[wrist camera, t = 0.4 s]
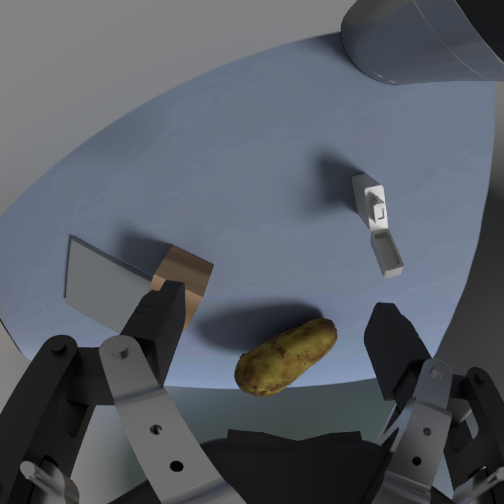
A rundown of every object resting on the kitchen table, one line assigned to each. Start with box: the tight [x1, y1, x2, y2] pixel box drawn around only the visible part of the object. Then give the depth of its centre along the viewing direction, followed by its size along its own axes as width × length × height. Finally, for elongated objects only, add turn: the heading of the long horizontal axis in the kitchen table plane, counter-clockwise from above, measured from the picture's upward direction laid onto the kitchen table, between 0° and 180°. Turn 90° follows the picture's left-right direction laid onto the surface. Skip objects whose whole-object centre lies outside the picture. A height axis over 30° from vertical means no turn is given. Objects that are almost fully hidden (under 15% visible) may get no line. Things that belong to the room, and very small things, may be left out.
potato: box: [234, 318, 337, 397], centre depth 32 cm, size 8×13×8 cm, turn 103°
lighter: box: [351, 173, 404, 279], centre depth 23 cm, size 7×2×8 cm, turn 17°
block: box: [148, 245, 214, 330], centre depth 29 cm, size 5×5×6 cm
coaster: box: [66, 237, 153, 334], centre depth 34 cm, size 12×12×1 cm
